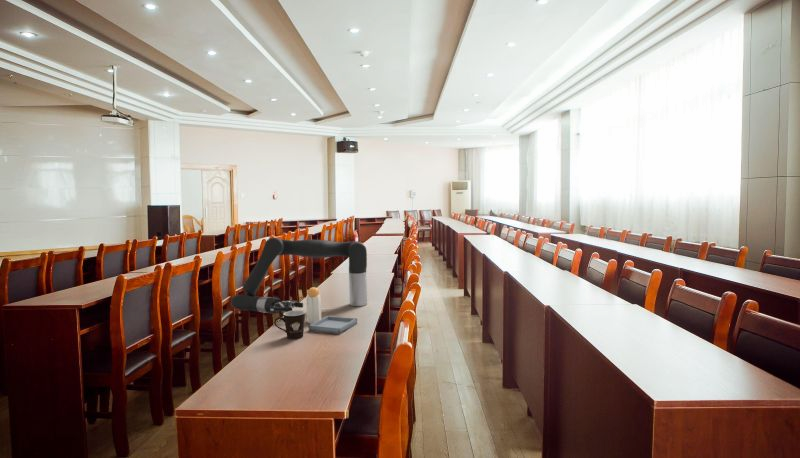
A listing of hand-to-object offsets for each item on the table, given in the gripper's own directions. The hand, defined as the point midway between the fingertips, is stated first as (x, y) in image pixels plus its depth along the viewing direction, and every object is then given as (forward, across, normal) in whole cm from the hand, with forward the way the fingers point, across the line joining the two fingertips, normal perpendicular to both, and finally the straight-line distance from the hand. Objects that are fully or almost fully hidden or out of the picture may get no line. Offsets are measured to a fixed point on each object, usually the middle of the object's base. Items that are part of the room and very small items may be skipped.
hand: (297, 307), depth 206 cm
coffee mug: (+12, -22, +6) cm, 26 cm away
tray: (+22, -5, +6) cm, 23 cm away
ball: (+9, 0, -8) cm, 12 cm away
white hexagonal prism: (+9, 0, +6) cm, 11 cm away
